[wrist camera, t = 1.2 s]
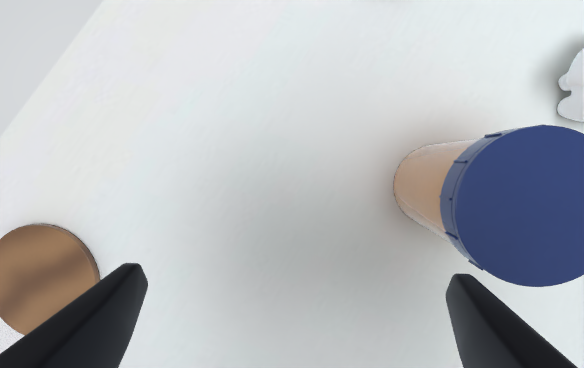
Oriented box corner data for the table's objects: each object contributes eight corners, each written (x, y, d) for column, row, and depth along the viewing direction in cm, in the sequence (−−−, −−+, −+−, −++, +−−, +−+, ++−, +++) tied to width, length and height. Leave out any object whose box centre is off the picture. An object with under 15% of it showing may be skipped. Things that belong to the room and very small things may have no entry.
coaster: (123, 289, 28) (119, 292, 28) (44, 358, 30) (39, 362, 29) (45, 199, 28) (40, 200, 28) (-30, 272, 29) (-38, 274, 29)
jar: (494, 190, 25) (645, 215, 14) (428, 241, 26) (518, 306, 14) (441, 127, 25) (548, 99, 14) (376, 180, 26) (425, 197, 14)
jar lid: (624, 211, 15) (664, 218, 13) (500, 300, 16) (523, 318, 14) (528, 98, 15) (557, 90, 13) (409, 193, 16) (421, 198, 14)
